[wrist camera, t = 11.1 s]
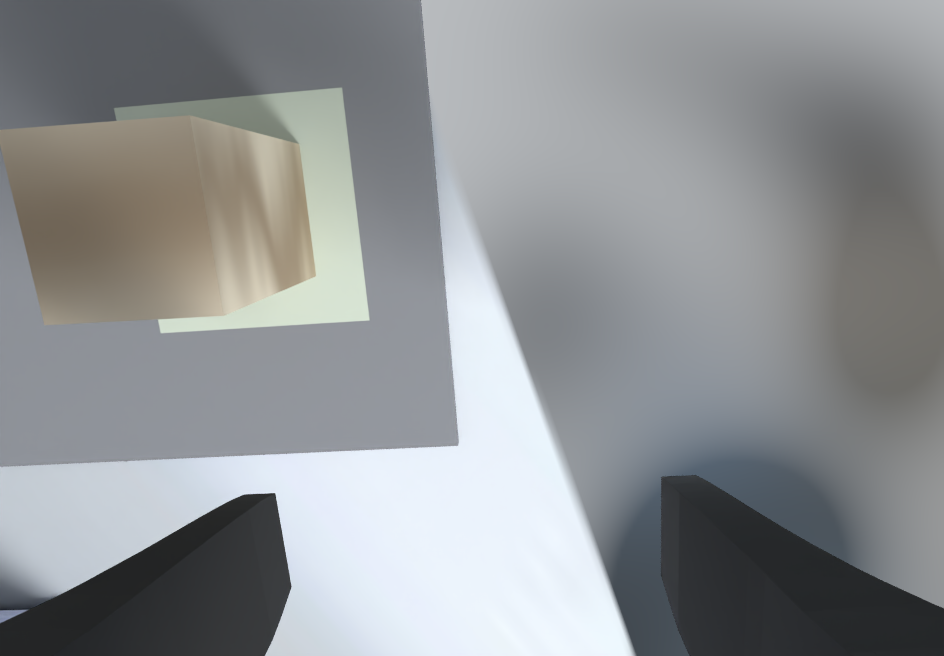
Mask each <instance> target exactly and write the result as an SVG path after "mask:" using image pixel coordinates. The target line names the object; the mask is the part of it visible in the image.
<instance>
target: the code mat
mask: <svg viewBox="0 0 944 656" xmlns="http://www.w3.org/2000/svg"><path fill="white" fill-rule="evenodd" d="M187 115H191V116H194V117H198V118H202V119H206V120H210V121H213V122H217V123H221V124H225V125H229V126H232V127H236V128H240V129H244V130H248V131H252V132H255V133H259V134H263V135H267V136H271V137H274V138H278V139H282V140H286V141H290V142H293V143H297V144H299V146H300V153H301V161H302V169H303V177H304V185H305V193H306V200H307V208H308V216H309V224H310V232H311V239H312V247H313V255H314V263H315V271H316V277H313V278H311V279H309V280H306V281H304V282H302V283H299V284H297V285H295V286H292V287H290V288H288V289H285V290H283V291H281V292H278V293H276V294H274V295H271V296H269V297H267V298H264V299H262V300H260V301H257V302H255V303H253V304H250V305H248V306H246V307H243V308H241V309H239V310H236V311H234V312H232V313H229V314H227V315H225V316H212V317H193V318H174V319H155V320H136V321H117V322H98V323H78V324H59V325H44V321H43V317H42V313H41V309H40V305H39V301H38V297H37V293H36V289H35V285H34V281H33V277H32V273H31V269H30V264H29V260H28V256H27V252H26V248H25V244H24V240H23V236H22V232H21V228H20V224H19V220H18V216H17V212H16V208H15V203H14V199H13V195H12V191H11V187H10V183H9V179H8V175H7V171H6V167H5V163H4V159H3V155H2V151H1V147H0V467H4V466H26V465H48V464H70V463H91V462H113V461H135V460H157V459H178V458H200V457H222V456H244V455H265V454H287V453H309V452H331V451H353V450H374V449H396V448H418V447H440V446H458V442H459V441H458V430H457V418H456V406H455V394H454V383H453V371H452V359H451V348H450V336H449V324H448V312H447V301H446V289H445V277H444V266H443V254H442V242H441V231H440V219H439V207H438V195H437V184H436V172H435V160H434V149H433V137H432V125H431V113H430V102H429V90H428V79H427V67H426V55H425V43H424V31H423V21H422V8H421V0H0V130H4V129H17V128H31V127H44V126H57V125H70V124H83V123H96V122H109V121H122V120H135V119H148V118H161V117H174V116H187Z"/></svg>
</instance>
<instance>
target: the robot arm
mask: <svg viewBox="0 0 944 656" xmlns="http://www.w3.org/2000/svg"><path fill="white" fill-rule="evenodd" d="M661 478H662V479H661V480H662V481H661V576H662V580H663V583H664V586H665V590H666V593H667V596H668V600H669V603H670V606H671V609H672V612H673V616H674V618H675V622H676V625H677V628H678V631H679V633H680V635H681V637H682V640H683V642H684V644H685V646H686V649H687V651H688V653H689V655H690V656H944V608H941V607H939V606H937V605H934V604H932V603H930V602H928V601H925V600H923V599H921V598H919V597H917V596H915V595H912V594H910V593H908V592H906V591H904V590H901V589H899V588H897V587H895V586H893V585H890V584H888V583H886V582H884V581H882V580H880V579H878V578H876V577H874V576H872V575H869V574H867V573H865V572H863V571H861V570H859V569H857V568H855V567H853V566H852V565H849V564H848V563H846V562H844V561H842V560H840V559H839V558H836V557H835V556H832V555H831V554H829V553H827V552H826V551H824V550H822V549H819V548H818V547H816V546H814V545H813V544H810V543H809V542H807V541H805V540H804V539H802V538H800V537H799V536H797V535H795V534H793V533H792V532H790V531H788V530H787V529H784V528H783V527H781V526H779V525H778V524H776V523H775V522H773V521H771V520H770V519H768V518H766V517H765V516H763V515H762V514H760V513H758V512H757V511H755V510H753V509H752V508H750V507H749V506H747V505H745V504H744V503H742V502H741V501H739V500H737V499H736V498H734V497H733V496H731V495H729V494H728V493H726V492H725V491H722V490H721V489H719V488H718V487H716V486H714V485H713V484H711V483H710V482H708V481H706V480H704V479H702V478H700V477H699V476H696V475H691V476H668V477H661ZM290 590H291V582H290V576H289V570H288V564H287V559H286V553H285V547H284V541H283V536H282V530H281V524H280V518H279V513H278V507H277V501H276V495H275V493H270V494H247V495H242V496H240V497H238V498H235V499H233V500H231V501H229V502H227V503H225V504H223V505H221V506H219V507H218V508H216V509H214V510H212V511H210V512H209V513H207V514H205V515H203V516H201V517H200V518H198V519H196V520H195V521H193V522H191V523H189V524H188V525H186V526H184V527H182V528H181V529H179V530H177V531H176V532H174V533H172V534H170V535H169V536H167V537H165V538H163V539H162V540H160V541H158V542H156V543H155V544H153V545H151V546H150V547H148V548H146V549H144V550H143V551H141V552H139V553H137V554H135V555H134V556H132V557H130V558H128V559H126V560H124V561H123V562H121V563H119V564H117V565H115V566H113V567H112V568H110V569H108V570H106V571H104V572H102V573H100V574H99V575H97V576H95V577H93V578H91V579H89V580H88V581H86V582H84V583H82V584H80V585H78V586H76V587H74V588H73V589H71V590H69V591H67V592H65V593H63V594H61V595H59V596H57V597H55V598H53V599H51V600H48V601H46V602H44V603H42V604H40V605H38V606H36V607H34V608H32V609H30V610H0V656H265V654H266V652H267V650H268V648H269V646H270V644H271V642H272V640H273V637H274V635H275V632H276V629H277V627H278V624H279V621H280V619H281V616H282V613H283V610H284V607H285V604H286V601H287V598H288V595H289V593H290Z"/></svg>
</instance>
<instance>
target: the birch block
mask: <svg viewBox="0 0 944 656" xmlns="http://www.w3.org/2000/svg"><path fill="white" fill-rule="evenodd" d="M0 147H1V151H2V155H3V159H4V163H5V167H6V171H7V175H8V179H9V183H10V187H11V191H12V195H13V199H14V203H15V208H16V212H17V216H18V220H19V224H20V228H21V232H22V236H23V240H24V244H25V248H26V252H27V256H28V260H29V264H30V269H31V273H32V277H33V281H34V285H35V289H36V293H37V297H38V301H39V305H40V309H41V313H42V317H43V321H44V325H59V324H78V323H98V322H117V321H136V320H155V319H174V318H193V317H212V316H225V315H227V314H229V313H232V312H234V311H236V310H239V309H241V308H243V307H246V306H248V305H250V304H253V303H255V302H257V301H260V300H262V299H264V298H267V297H269V296H271V295H274V294H276V293H278V292H281V291H283V290H285V289H288V288H290V287H292V286H295V285H297V284H299V283H302V282H304V281H306V280H309V279H311V278H313V277H316V271H315V263H314V255H313V247H312V239H311V232H310V224H309V216H308V208H307V200H306V193H305V185H304V177H303V169H302V161H301V153H300V146H299V144H297V143H293V142H290V141H286V140H282V139H278V138H274V137H271V136H267V135H263V134H259V133H255V132H252V131H248V130H244V129H240V128H236V127H232V126H229V125H225V124H221V123H217V122H213V121H210V120H206V119H202V118H198V117H194V116H191V115H187V116H174V117H161V118H148V119H135V120H122V121H109V122H96V123H83V124H70V125H57V126H44V127H31V128H17V129H4V130H0Z"/></svg>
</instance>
